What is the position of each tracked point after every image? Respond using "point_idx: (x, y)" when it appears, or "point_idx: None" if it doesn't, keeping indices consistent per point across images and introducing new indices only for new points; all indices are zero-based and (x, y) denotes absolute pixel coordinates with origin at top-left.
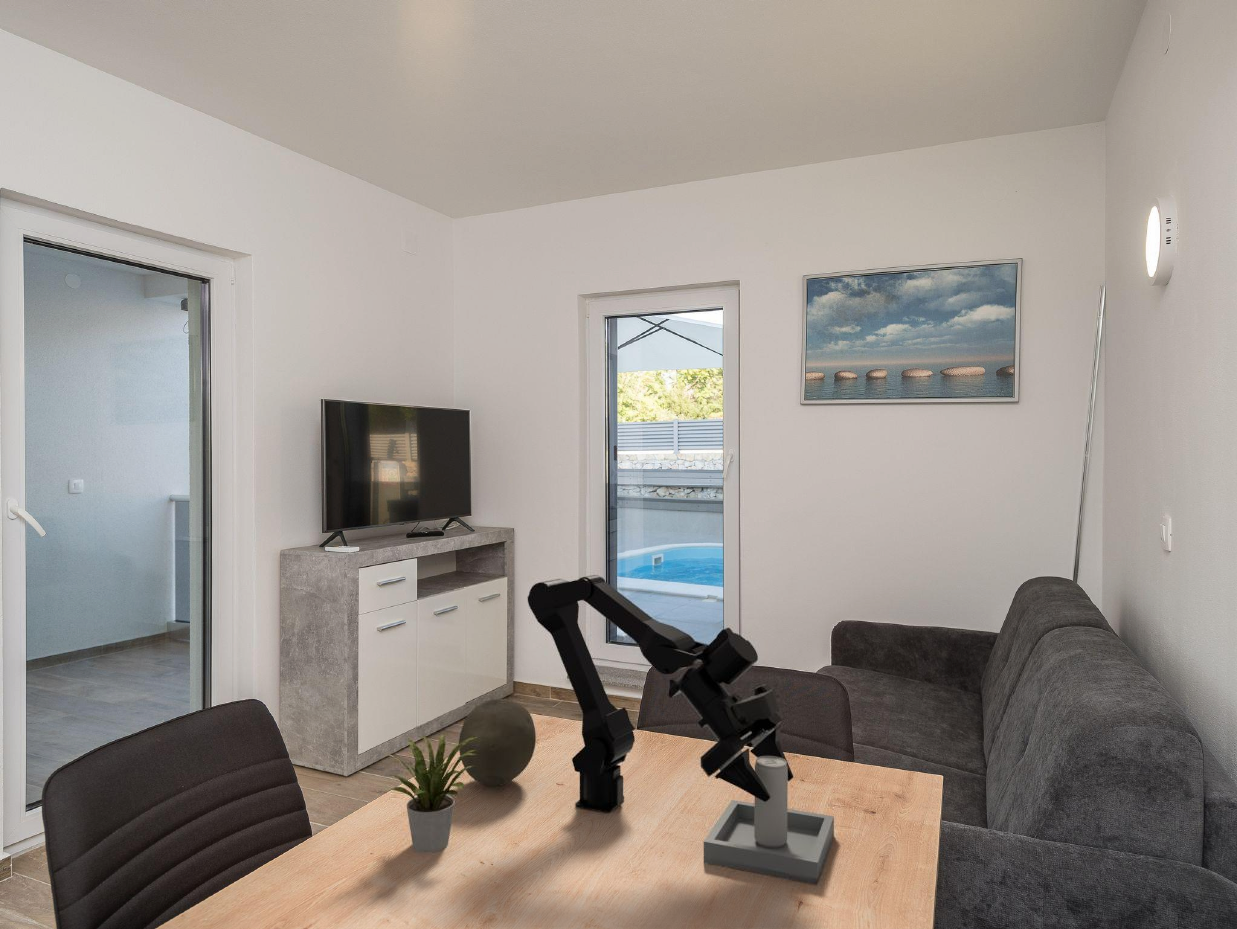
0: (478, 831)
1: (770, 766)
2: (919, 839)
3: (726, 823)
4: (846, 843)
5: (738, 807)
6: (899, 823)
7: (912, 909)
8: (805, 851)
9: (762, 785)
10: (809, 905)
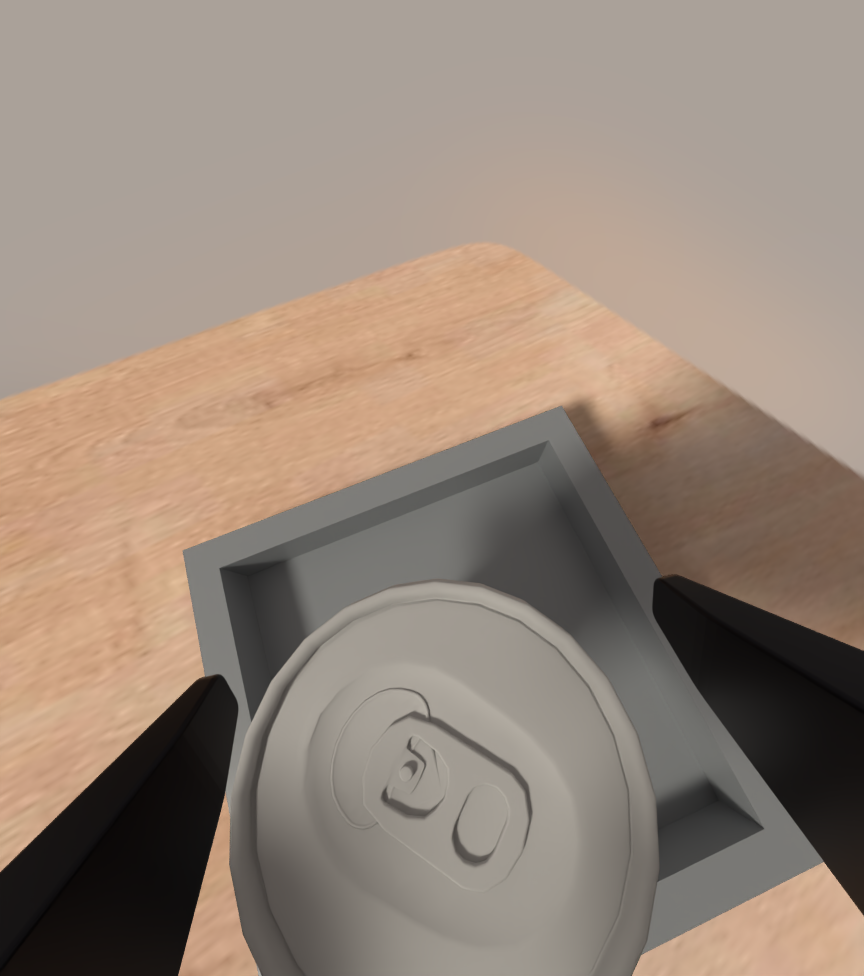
0: None
1: (607, 679)
2: (108, 382)
3: None
4: (251, 508)
5: None
6: (22, 463)
7: (472, 258)
8: (422, 547)
9: (756, 624)
10: (650, 402)
